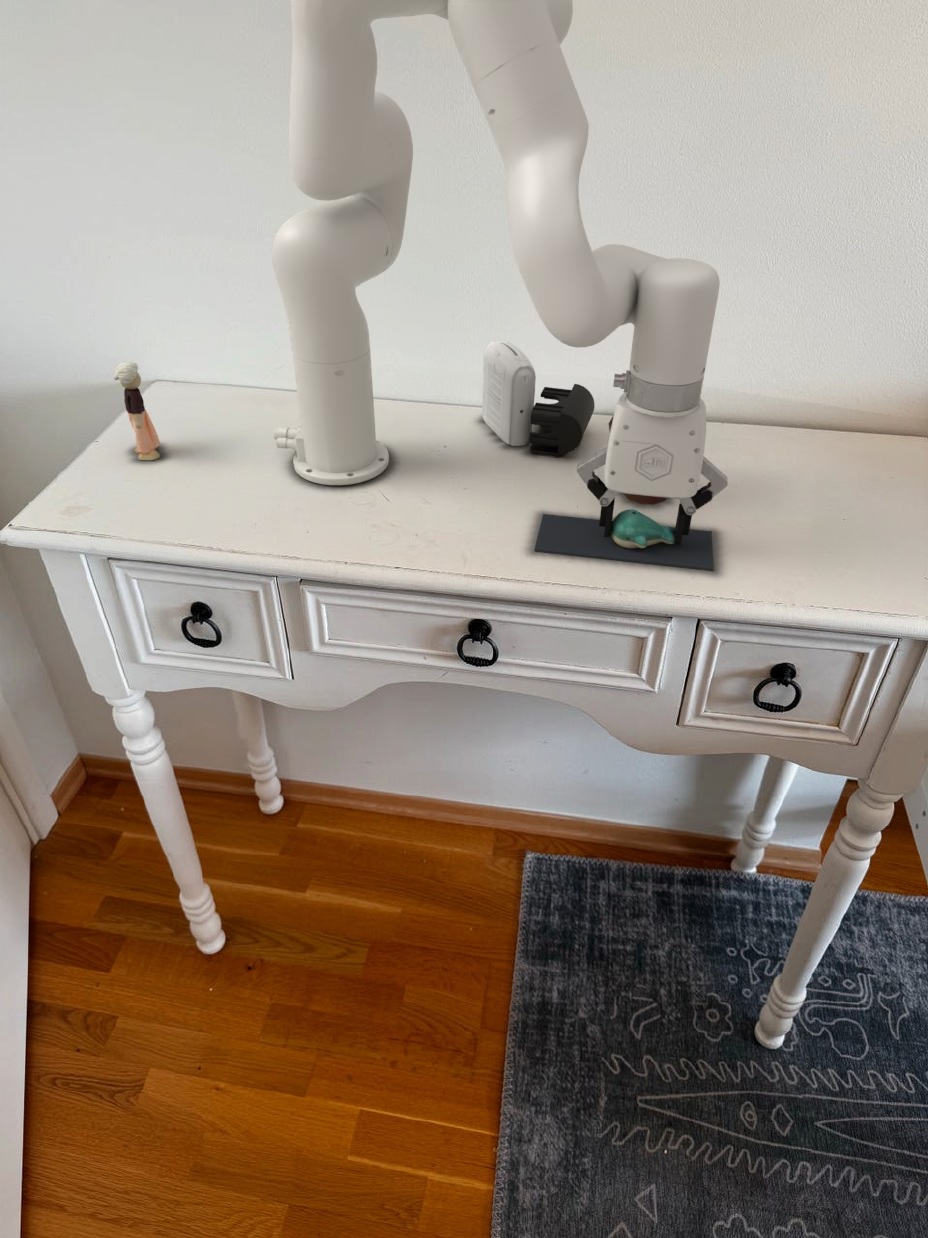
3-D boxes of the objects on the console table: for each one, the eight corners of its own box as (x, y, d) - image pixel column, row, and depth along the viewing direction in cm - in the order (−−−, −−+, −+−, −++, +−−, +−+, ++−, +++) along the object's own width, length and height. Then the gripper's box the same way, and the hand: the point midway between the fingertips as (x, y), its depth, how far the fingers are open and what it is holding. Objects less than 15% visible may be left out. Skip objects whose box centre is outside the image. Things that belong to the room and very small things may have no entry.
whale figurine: (611, 525, 105) (614, 497, 103) (674, 531, 104) (678, 503, 102) (608, 552, 101) (611, 523, 99) (673, 559, 100) (678, 530, 97)
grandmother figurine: (170, 459, 119) (150, 368, 111) (142, 466, 117) (120, 374, 110) (151, 437, 124) (130, 349, 116) (124, 445, 122) (101, 355, 115)
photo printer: (536, 443, 123) (541, 357, 115) (508, 449, 122) (511, 361, 114) (505, 414, 130) (507, 331, 123) (478, 419, 129) (479, 335, 122)
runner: (534, 551, 101) (534, 549, 101) (543, 515, 108) (543, 513, 108) (713, 571, 98) (713, 568, 98) (711, 533, 105) (711, 531, 104)
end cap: (579, 462, 119) (583, 415, 114) (528, 455, 120) (530, 408, 116) (592, 430, 126) (596, 385, 122) (543, 424, 128) (546, 379, 124)
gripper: (575, 396, 90) (563, 544, 100) (753, 411, 87) (720, 561, 98) (582, 368, 95) (570, 510, 106) (749, 381, 93) (719, 525, 104)
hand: (642, 533), depth 102 cm, fingers closed on whale figurine, 7 cm apart
